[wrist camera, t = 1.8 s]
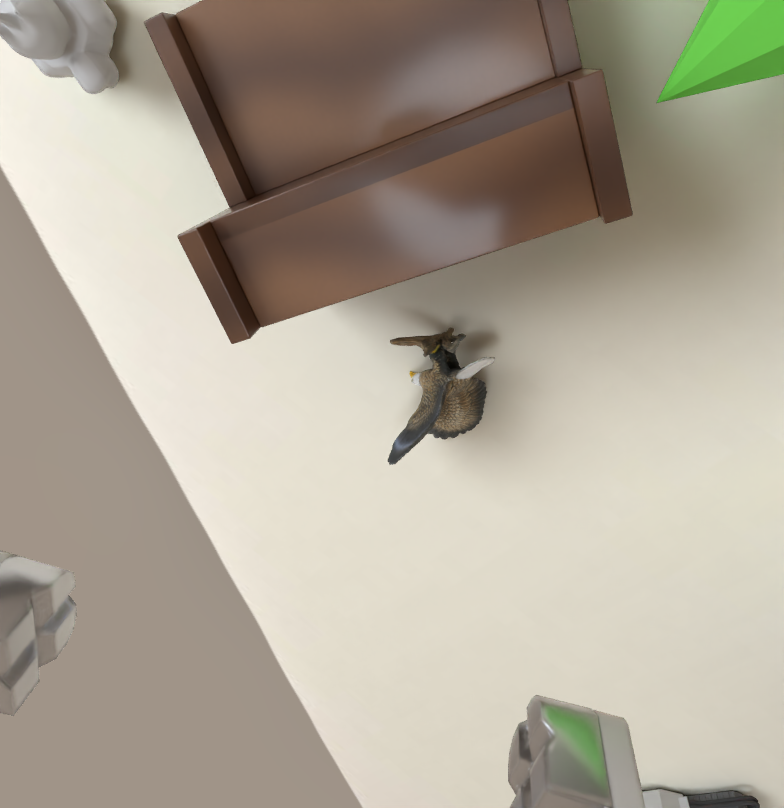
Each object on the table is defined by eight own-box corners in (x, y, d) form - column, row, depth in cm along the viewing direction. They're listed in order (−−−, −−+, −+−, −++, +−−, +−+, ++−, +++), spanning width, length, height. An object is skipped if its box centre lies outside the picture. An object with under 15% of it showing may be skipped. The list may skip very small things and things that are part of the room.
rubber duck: (84, -49, 36) (-16, -76, 29) (161, 61, 38) (85, 60, 31) (25, 14, 38) (-81, 2, 31) (102, 115, 40) (18, 126, 33)
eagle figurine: (365, 327, 43) (367, 452, 46) (412, 348, 37) (411, 490, 39) (463, 319, 46) (459, 436, 49) (521, 337, 40) (513, 470, 42)
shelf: (180, 26, 37) (62, 11, 27) (525, -148, 31) (536, -249, 21) (293, 280, 43) (231, 344, 33) (597, 175, 38) (633, 215, 28)
